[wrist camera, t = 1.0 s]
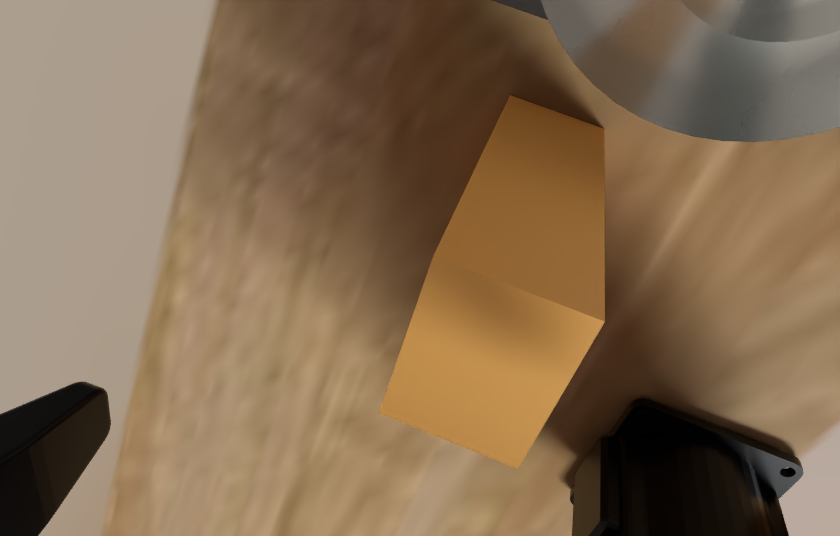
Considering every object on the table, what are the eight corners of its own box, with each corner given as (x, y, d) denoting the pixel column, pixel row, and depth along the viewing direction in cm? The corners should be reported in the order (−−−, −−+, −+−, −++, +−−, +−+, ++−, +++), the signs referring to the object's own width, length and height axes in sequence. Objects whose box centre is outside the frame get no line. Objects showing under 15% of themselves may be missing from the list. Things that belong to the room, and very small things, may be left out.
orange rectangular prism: (604, 128, 18) (604, 321, 10) (552, 237, 20) (518, 469, 12) (510, 94, 18) (433, 256, 10) (469, 206, 21) (379, 413, 12)
